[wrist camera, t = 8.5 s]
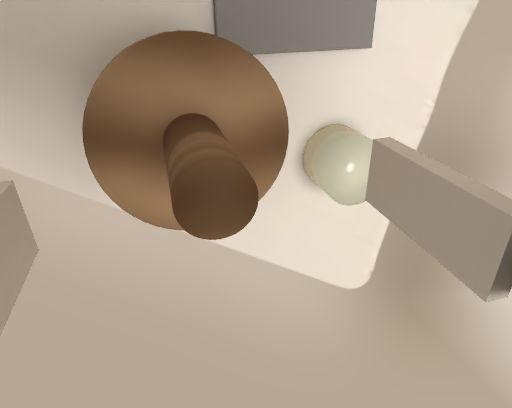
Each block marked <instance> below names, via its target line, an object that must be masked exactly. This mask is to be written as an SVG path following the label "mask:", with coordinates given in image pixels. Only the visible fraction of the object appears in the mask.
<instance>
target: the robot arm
mask: <svg viewBox="0 0 512 408" xmlns="http://www.w3.org/2000/svg"><path fill="white" fill-rule="evenodd" d="M365 200H366V201H367V202H369V203H370V204H371V205H372V206H373V207H374V208H376V209H377V210H378V211H379V212H380V213H382V214H383V215H384V216H385V217H386V218H387V219H389V220H390V221H391V222H392V223H393V224H394V225H396V226H397V227H398V228H399V229H400V230H401V231H403V232H404V233H405V234H406V235H407V236H409V237H410V238H411V239H412V240H413V241H414V242H416V243H417V244H418V245H419V246H420V247H421V248H423V249H424V250H425V251H426V252H427V253H429V254H430V255H431V256H432V257H433V258H435V259H436V260H437V261H438V262H439V263H440V264H441V265H443V266H444V267H445V268H446V269H447V270H449V271H450V272H451V273H452V274H453V275H454V276H456V277H457V278H458V279H459V280H460V281H462V282H463V283H464V284H465V285H466V286H467V287H469V288H470V289H471V290H472V291H473V292H474V293H476V294H477V295H478V296H479V297H480V298H481V299H483V300H484V301H485V302H489V301H493V300H497V299H501V298H505V297H508V295H509V292H510V290H511V287H512V199H510V198H508V197H506V196H504V195H502V194H500V193H498V192H496V191H494V190H492V189H490V188H488V187H487V186H485V185H483V184H480V183H479V182H477V181H475V180H473V179H471V178H469V177H467V176H465V175H463V174H461V173H459V172H457V171H455V170H453V169H451V168H449V167H447V166H445V165H443V164H441V163H439V162H437V161H436V160H433V159H432V158H430V157H427V156H426V155H424V154H422V153H420V152H418V151H416V150H414V149H412V148H410V147H408V146H406V145H404V144H402V143H400V142H398V141H396V140H394V139H392V138H390V137H388V138H379V139H373V145H372V152H371V160H370V167H369V174H368V182H367V189H366V196H365ZM37 252H38V247H37V245H36V242H35V239H34V236H33V234H32V231H31V229H30V226H29V223H28V221H27V218H26V215H25V213H24V210H23V207H22V204H21V202H20V199H19V196H18V194H17V191H16V188H15V185H14V183H13V181H5V182H0V335H1V333H2V331H3V329H4V326H5V324H6V321H7V320H8V317H9V315H10V313H11V310H12V308H13V306H14V304H15V302H16V299H17V297H18V295H19V293H20V290H21V288H22V286H23V284H24V282H25V279H26V277H27V275H28V273H29V270H30V268H31V266H32V263H33V261H34V259H35V257H36V255H37Z"/></svg>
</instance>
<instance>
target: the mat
mask: <svg viewBox="0 0 512 408" xmlns="http://www.w3.org/2000/svg"><path fill="white" fill-rule="evenodd" d="M376 3H377V0H214V10H215V24H216V36H218V37H221V38H224V39H227V40H229V41H231V42H233V43H235V44H237V45H239V46H240V47H242V48H243V49H245V50H246V51H248V52H249V53H250V54H267V53H286V52H305V51H324V50H343V49H362V48H371V47H372V38H373V30H374V21H375V12H376Z"/></svg>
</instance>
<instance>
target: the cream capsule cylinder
mask: <svg viewBox="0 0 512 408" xmlns="http://www.w3.org/2000/svg"><path fill="white" fill-rule="evenodd" d="M372 145H373V140H372V139H370V138H368V137H366V136H364V135H362V134H360V133H358V132H357V131H355V130H353V129H351V128H349V127H347V126H344V125H340V124H334V125H329V126H326V127H324V128H322V129H320V130H319V131H317V132H316V133H315V134H314V135H313V136H312V137H311V138H310V140H309V141H308V143H307V145H306V147H305V150H304V153H303V166H304V169H305V171H306V173H307V175H308V176H309V177H310V178H311V179H312V180H313V181H314V182H315V183H316V184H317V185H318V186H319V187H320V188H321V189H323V190H324V191H325V192H326V193H327V194H328V195H329V196H330V197H331V198H332V199H333V200H334V201H336V202H337V203H339V204H342V205H356V204H360V203H362V202H365V201H366V200H365V196H366V189H367V182H368V174H369V167H370V160H371V152H372Z"/></svg>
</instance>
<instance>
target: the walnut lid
mask: <svg viewBox="0 0 512 408" xmlns="http://www.w3.org/2000/svg"><path fill="white" fill-rule="evenodd" d="M288 133H289V130H288V117H287V112H286V107H285V104H284V101H283V98H282V95H281V93H280V91H279V88H278V86H277V84H276V83H275V81H274V79H273V78H272V76H271V75H270V73H269V72H268V71H267V70H266V68H265V67H264V66H263V65H262V64H261V63H260V62H259V61H258V60H257V59H256V58H255V57H254V56H253V55H251V54H250V53H249V52H248V51H246V50H245V49H243V48H242V47H240V46H239V45H237V44H235V43H233V42H231V41H229V40H227V39H224V38H221V37H218V36H215V35H212V34H208V33H203V32H197V31H179V30H178V31H170V32H163V33H159V34H155V35H152V36H149V37H146V38H144V39H142V40H140V41H137V42H135V43H134V44H132V45H131V46H129V47H127V48H126V49H124V50H123V51H122V52H121V53H119V54H118V55H117V56H116V57H115V58H114V59H113V60H112V61H111V62H110V63H109V64H108V65H107V67H106V68H105V69H104V70H103V71H102V73H101V74H100V76H99V77H98V79H97V81H96V82H95V84H94V85H93V88H92V90H91V92H90V95H89V97H88V100H87V104H86V107H85V111H84V118H83V143H84V148H85V154H86V157H87V160H88V163H89V166H90V169H91V171H92V172H93V174H94V176H95V178H96V180H97V182H98V183H99V185H100V186H101V188H102V189H103V190H104V192H105V193H106V194H107V195H108V196H109V197H110V198H111V199H112V201H114V202H115V203H116V204H117V205H118V206H119V207H121V208H122V209H123V210H125V211H126V212H128V213H129V214H131V215H132V216H134V217H136V218H138V219H140V220H142V221H144V222H146V223H149V224H152V225H155V226H158V227H163V228H167V229H174V230H185V231H186V232H188V233H189V234H191V235H193V236H195V237H198V238H202V239H208V240H216V239H222V238H226V237H229V236H231V235H234V234H236V233H237V232H239V231H240V230H242V229H243V228H244V227H245V226H246V225H247V224H248V223H249V222H250V221H251V219H252V218H253V216H254V214H255V212H256V209H257V206H258V201H259V200H260V199H261V198H262V197H263V196H264V195H265V194H266V192H267V191H268V190H269V189H270V187H271V186H272V184H273V183H274V181H275V179H276V178H277V176H278V174H279V172H280V170H281V167H282V165H283V162H284V158H285V155H286V150H287V145H288Z"/></svg>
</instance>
